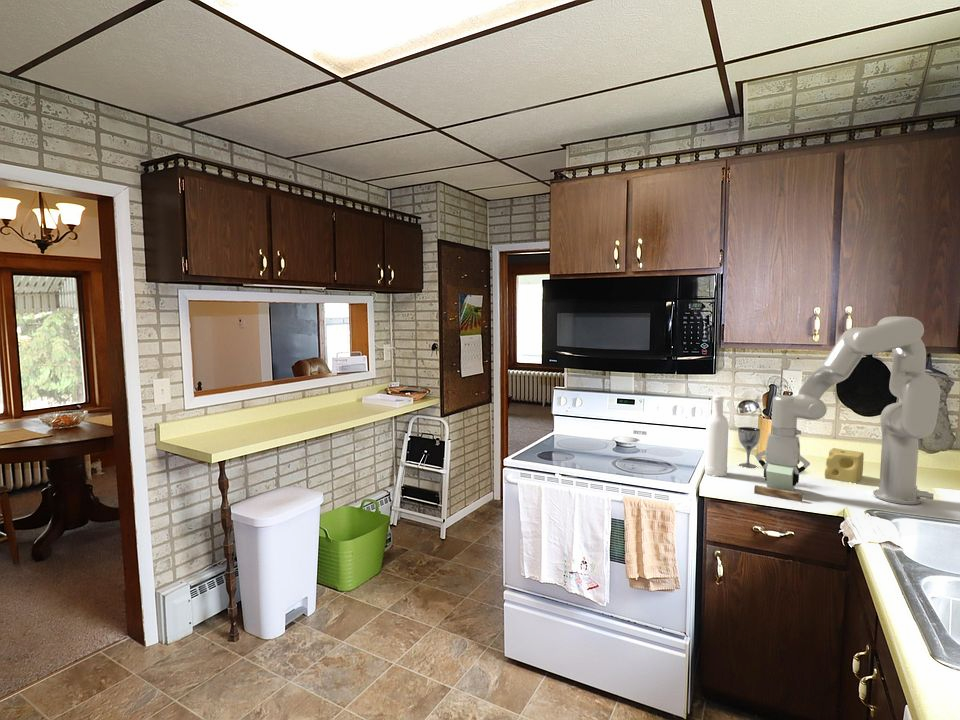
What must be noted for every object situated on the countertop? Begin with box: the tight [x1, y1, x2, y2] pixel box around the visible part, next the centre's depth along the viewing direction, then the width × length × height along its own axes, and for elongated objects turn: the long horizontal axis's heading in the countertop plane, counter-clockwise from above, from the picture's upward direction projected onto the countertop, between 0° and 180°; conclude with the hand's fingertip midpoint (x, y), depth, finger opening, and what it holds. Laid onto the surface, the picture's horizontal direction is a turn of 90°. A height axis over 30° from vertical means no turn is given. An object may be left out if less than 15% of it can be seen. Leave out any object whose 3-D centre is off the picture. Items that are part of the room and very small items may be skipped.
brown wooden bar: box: [753, 484, 803, 503], centre depth 184 cm, size 14×2×2 cm, turn 51°
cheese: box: [824, 447, 865, 484], centre depth 203 cm, size 10×11×10 cm
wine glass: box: [737, 426, 761, 469], centre depth 220 cm, size 8×8×15 cm
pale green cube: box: [766, 463, 796, 492], centre depth 189 cm, size 8×8×9 cm
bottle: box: [704, 394, 729, 477], centre depth 209 cm, size 8×8×30 cm
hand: (780, 481), depth 189 cm, fingers closed on pale green cube, 7 cm apart
